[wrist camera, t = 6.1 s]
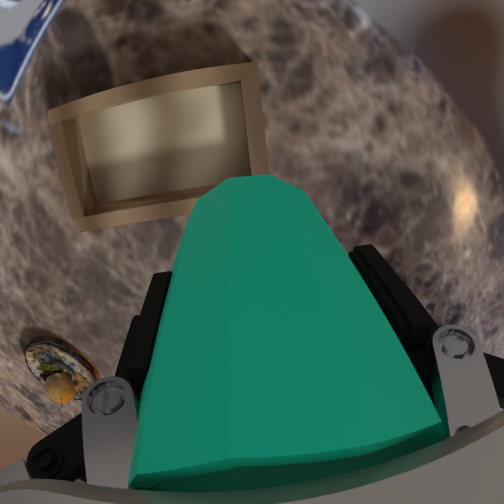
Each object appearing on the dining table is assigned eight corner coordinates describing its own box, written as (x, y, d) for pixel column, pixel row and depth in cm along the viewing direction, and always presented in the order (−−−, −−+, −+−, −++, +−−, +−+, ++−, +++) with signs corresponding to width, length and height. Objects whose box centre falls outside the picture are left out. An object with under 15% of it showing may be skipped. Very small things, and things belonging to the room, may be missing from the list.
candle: (260, 319, 15) (294, 578, 5) (155, 252, 13) (72, 560, 3) (350, 234, 13) (507, 500, 3) (245, 141, 11) (365, 591, 1)
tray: (94, 219, 26) (77, 236, 23) (68, 104, 21) (46, 107, 18) (266, 193, 26) (271, 208, 23) (252, 64, 21) (256, 57, 18)
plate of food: (21, 325, 33) (-4, 363, 26) (95, 346, 34) (76, 392, 28) (40, 380, 38) (24, 416, 31) (105, 400, 39) (94, 439, 33)
